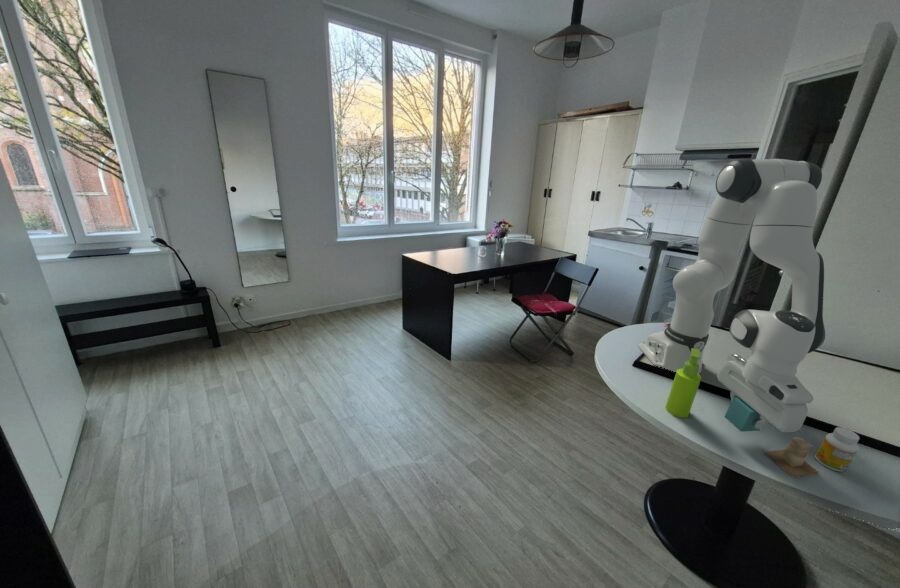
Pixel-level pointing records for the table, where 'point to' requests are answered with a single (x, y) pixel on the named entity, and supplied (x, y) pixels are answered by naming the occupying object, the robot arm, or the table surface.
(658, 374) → the table surface
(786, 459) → the wooden block stand
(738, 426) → the teal rectangular block
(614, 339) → the table surface
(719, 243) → the robot arm
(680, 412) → the soap dispenser
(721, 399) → the table surface
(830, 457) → the supplement bottle
